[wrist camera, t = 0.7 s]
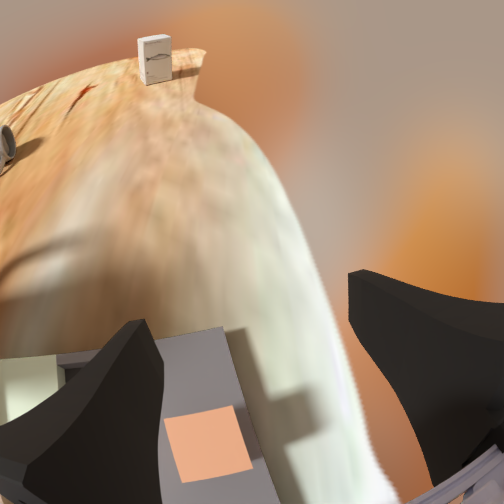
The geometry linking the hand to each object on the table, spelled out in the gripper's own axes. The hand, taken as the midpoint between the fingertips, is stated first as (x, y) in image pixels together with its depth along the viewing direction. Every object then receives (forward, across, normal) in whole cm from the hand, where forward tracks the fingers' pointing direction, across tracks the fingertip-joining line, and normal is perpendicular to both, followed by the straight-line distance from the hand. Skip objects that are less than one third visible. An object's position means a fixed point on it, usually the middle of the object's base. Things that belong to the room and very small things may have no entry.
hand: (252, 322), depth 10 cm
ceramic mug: (+42, +44, -16) cm, 63 cm away
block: (+4, +5, +14) cm, 15 cm away
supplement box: (+69, +11, -28) cm, 75 cm away
